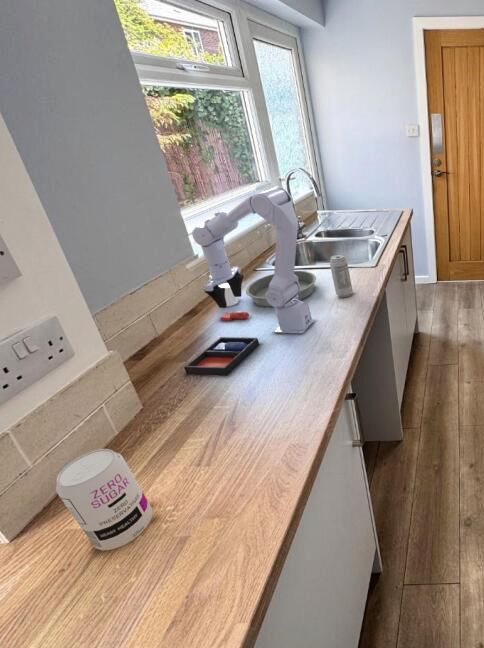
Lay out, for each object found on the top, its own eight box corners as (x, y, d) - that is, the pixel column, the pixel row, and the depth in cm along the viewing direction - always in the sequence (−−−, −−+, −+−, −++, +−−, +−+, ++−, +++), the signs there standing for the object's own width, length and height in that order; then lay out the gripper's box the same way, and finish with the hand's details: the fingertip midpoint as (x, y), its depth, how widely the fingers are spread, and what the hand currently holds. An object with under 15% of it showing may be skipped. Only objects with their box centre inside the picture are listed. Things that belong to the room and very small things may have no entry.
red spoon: (252, 316, 138) (250, 309, 137) (246, 321, 135) (244, 314, 134) (227, 315, 139) (225, 309, 138) (220, 320, 136) (218, 314, 135)
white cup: (231, 307, 145) (225, 290, 142) (215, 306, 146) (209, 289, 143) (244, 299, 151) (239, 282, 148) (228, 298, 152) (223, 281, 149)
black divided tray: (259, 344, 121) (257, 337, 120) (227, 375, 108) (224, 368, 106) (223, 343, 122) (220, 336, 121) (186, 374, 109) (183, 366, 108)
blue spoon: (250, 346, 119) (248, 340, 118) (243, 353, 116) (241, 346, 115) (221, 346, 120) (219, 339, 119) (213, 352, 117) (211, 345, 116)
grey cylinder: (350, 289, 154) (343, 252, 148) (355, 295, 149) (348, 257, 143) (334, 293, 151) (326, 256, 145) (338, 299, 147) (331, 261, 140)
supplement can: (117, 509, 73) (79, 448, 66) (164, 504, 73) (131, 443, 67) (82, 555, 65) (35, 492, 59) (135, 549, 66) (94, 486, 59)
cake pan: (241, 313, 140) (237, 302, 138) (257, 285, 162) (254, 275, 160) (315, 303, 145) (312, 291, 143) (320, 277, 167) (318, 267, 165)
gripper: (221, 254, 131) (233, 291, 136) (189, 271, 118) (203, 312, 123) (241, 254, 130) (252, 291, 136) (211, 271, 117) (225, 312, 123)
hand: (230, 301), depth 129 cm, fingers open, 7 cm apart
